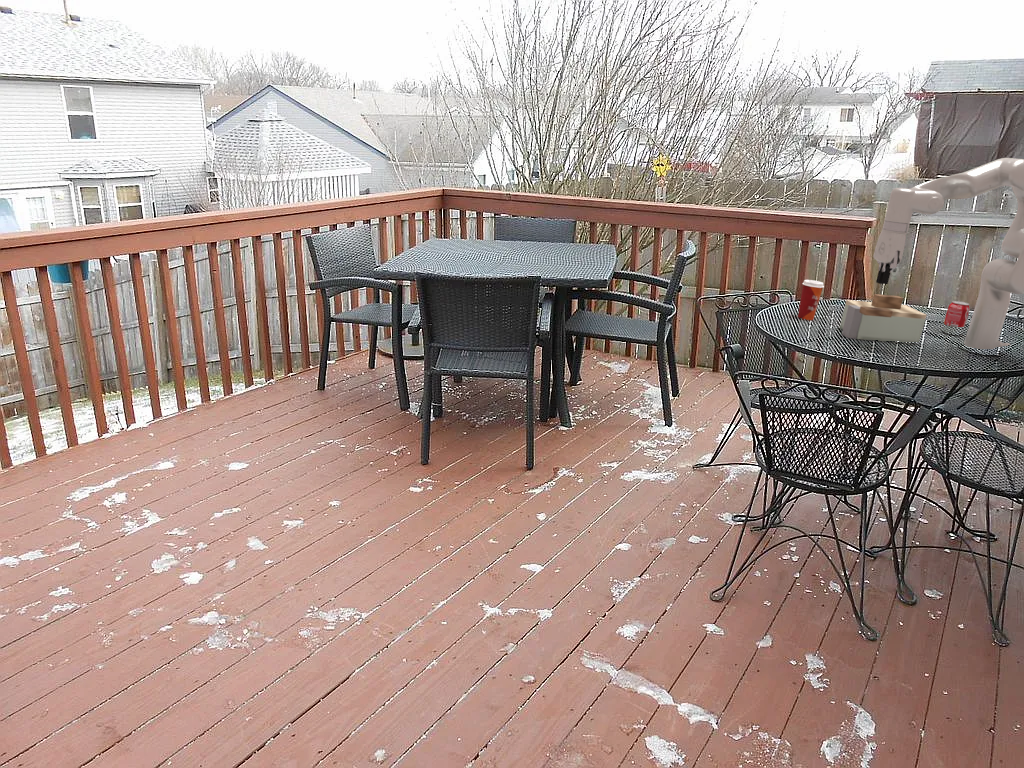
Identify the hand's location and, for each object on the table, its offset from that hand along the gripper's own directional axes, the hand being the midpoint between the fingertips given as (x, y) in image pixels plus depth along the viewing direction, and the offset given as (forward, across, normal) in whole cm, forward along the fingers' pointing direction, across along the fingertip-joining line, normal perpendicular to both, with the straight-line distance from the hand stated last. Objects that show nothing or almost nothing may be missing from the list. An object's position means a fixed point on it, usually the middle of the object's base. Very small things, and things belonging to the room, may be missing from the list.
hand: (881, 283), depth 255 cm
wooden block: (+10, +3, -1) cm, 11 cm away
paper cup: (+21, -30, -9) cm, 38 cm away
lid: (+12, -12, +10) cm, 19 cm away
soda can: (+21, -25, +44) cm, 55 cm away
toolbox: (+21, -11, +8) cm, 25 cm away
